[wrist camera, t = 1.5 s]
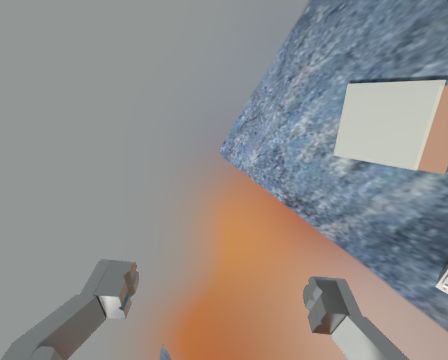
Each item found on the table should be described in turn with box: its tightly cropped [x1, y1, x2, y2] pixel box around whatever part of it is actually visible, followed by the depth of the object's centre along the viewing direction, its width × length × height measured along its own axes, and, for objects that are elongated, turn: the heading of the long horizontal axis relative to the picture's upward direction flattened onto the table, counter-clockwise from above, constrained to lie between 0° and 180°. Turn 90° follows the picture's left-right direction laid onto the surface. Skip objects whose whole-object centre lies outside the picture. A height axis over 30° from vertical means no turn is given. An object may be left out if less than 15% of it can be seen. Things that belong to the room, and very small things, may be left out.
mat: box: [334, 80, 447, 171], centre depth 41 cm, size 14×14×1 cm
